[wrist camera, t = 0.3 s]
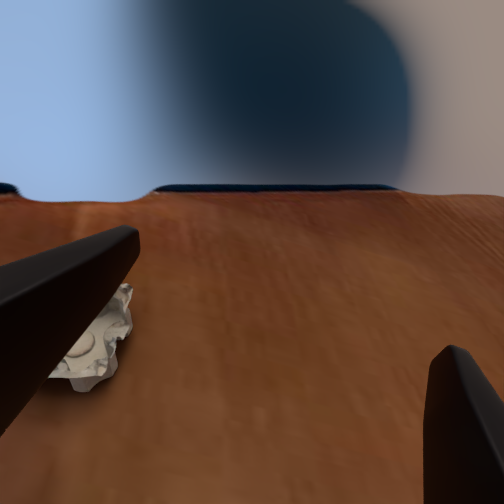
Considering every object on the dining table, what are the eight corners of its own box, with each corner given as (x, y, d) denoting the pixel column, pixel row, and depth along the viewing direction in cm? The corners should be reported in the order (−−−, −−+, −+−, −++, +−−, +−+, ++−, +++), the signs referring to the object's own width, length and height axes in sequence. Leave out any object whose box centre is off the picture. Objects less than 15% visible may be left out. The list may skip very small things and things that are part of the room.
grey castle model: (143, 315, 27) (140, 282, 24) (103, 407, 22) (93, 378, 19) (13, 290, 27) (-5, 254, 24) (-61, 378, 21) (-96, 344, 19)
